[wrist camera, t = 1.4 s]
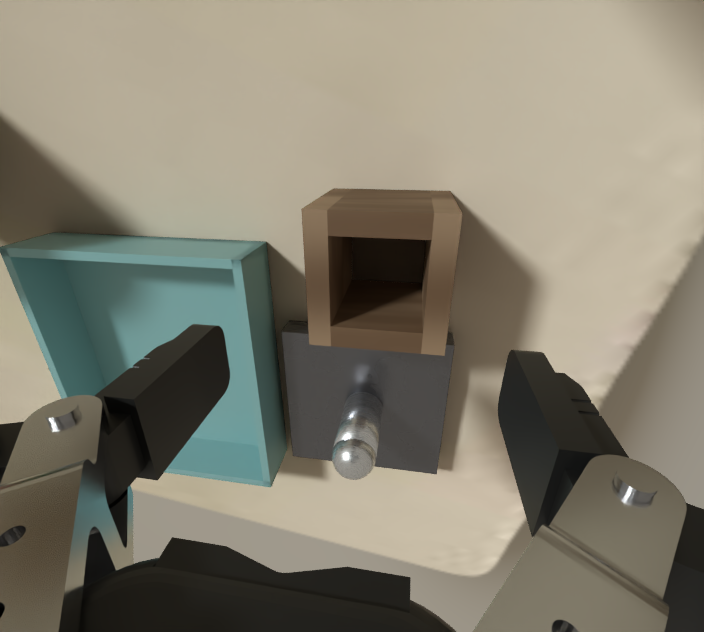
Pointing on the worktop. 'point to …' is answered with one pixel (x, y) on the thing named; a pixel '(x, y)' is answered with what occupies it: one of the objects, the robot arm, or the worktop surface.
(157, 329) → the teal tray
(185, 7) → the worktop surface
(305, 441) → the gauge pin stand
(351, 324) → the hollow wooden cube
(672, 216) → the worktop surface
